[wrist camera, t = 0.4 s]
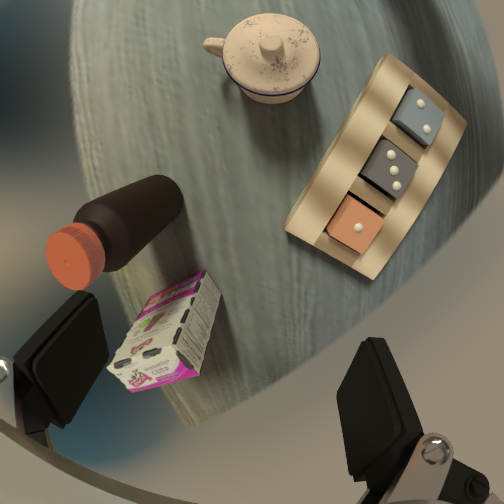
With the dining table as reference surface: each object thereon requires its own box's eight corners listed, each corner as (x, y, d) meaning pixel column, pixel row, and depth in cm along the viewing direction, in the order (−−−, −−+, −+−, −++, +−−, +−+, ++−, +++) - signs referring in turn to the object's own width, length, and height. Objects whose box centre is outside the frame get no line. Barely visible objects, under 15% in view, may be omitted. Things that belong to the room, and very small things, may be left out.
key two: (405, 90, 26) (416, 87, 23) (433, 114, 27) (446, 114, 24) (389, 120, 28) (399, 119, 25) (418, 144, 29) (430, 145, 26)
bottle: (193, 202, 36) (117, 273, 17) (159, 232, 38) (78, 314, 19) (161, 163, 34) (58, 200, 16) (129, 196, 36) (28, 254, 18)
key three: (378, 139, 29) (388, 140, 26) (408, 162, 30) (419, 165, 27) (358, 172, 31) (366, 176, 28) (389, 194, 32) (399, 200, 29)
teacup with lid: (319, 54, 27) (339, 20, 16) (295, 116, 30) (306, 106, 20) (226, 27, 26) (206, -14, 15) (201, 88, 30) (169, 68, 19)
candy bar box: (168, 319, 44) (131, 394, 29) (150, 295, 42) (103, 367, 27) (225, 294, 41) (201, 378, 26) (206, 267, 39) (170, 344, 24)
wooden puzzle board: (380, 58, 26) (388, 52, 23) (455, 122, 28) (467, 122, 25) (283, 222, 36) (284, 230, 33) (367, 270, 38) (373, 280, 35)
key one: (346, 193, 32) (353, 198, 29) (377, 213, 33) (385, 221, 30) (325, 226, 34) (329, 235, 31) (356, 245, 35) (362, 255, 32)
